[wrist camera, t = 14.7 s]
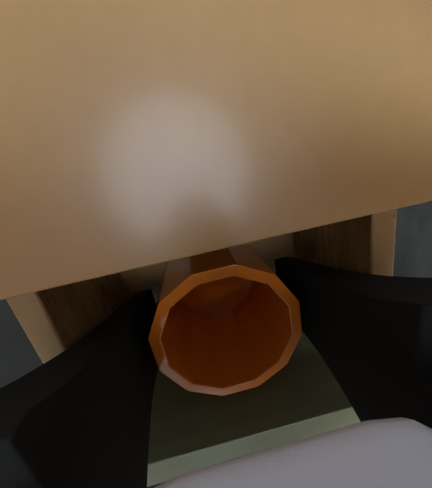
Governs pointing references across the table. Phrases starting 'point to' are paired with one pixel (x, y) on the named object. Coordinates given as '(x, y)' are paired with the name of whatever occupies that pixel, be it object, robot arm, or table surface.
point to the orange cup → (223, 322)
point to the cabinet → (201, 126)
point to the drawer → (240, 403)
